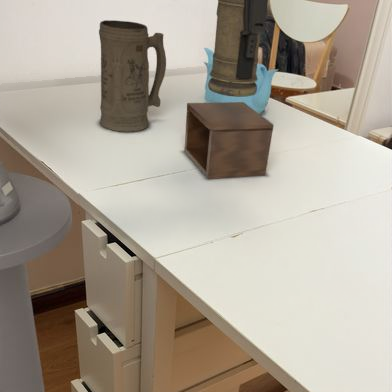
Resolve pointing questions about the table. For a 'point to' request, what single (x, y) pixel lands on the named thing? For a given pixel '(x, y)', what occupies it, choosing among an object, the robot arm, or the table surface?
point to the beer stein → (128, 74)
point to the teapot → (254, 101)
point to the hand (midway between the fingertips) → (234, 70)
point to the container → (230, 52)
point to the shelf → (227, 139)
